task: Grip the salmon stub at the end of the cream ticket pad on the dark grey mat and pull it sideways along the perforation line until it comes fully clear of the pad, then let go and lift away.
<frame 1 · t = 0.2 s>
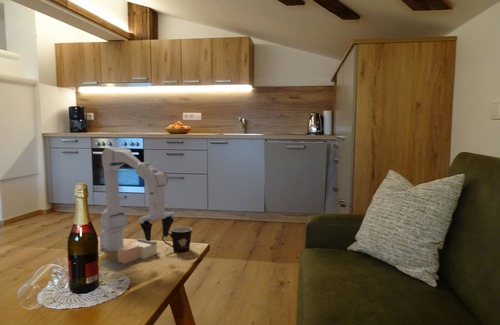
hand: (156, 238, 136), 10 cm above the table, tool pointing down, fingers open, 7 cm apart
coffee mug: (177, 252, 150), on the table
ticket pad: (143, 254, 143), resting on mat
mat: (130, 261, 138), on the table
stub: (128, 253, 137), point 3 cm above the table, slide at 0.0 cm
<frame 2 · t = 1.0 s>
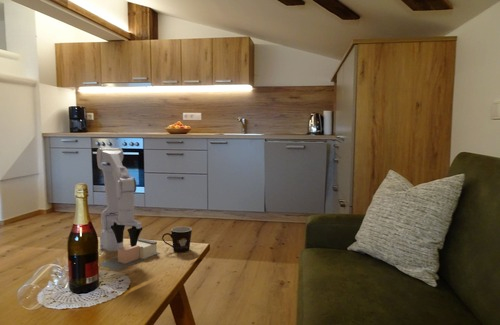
hand: (126, 244, 135), 7 cm above the table, tool pointing down, fingers open, 7 cm apart
nothing on the table moved.
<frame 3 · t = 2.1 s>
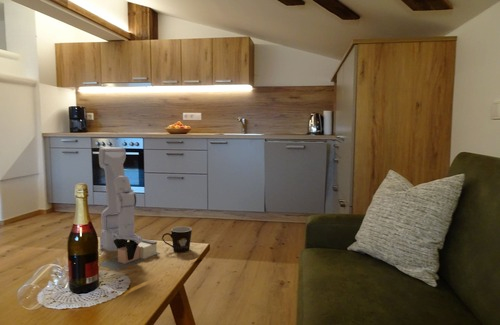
hand: (126, 258, 136), 2 cm above the table, tool pointing down, fingers closed on stub, 4 cm apart
stub: (128, 253, 137), point 3 cm above the table, slide at 0.0 cm, touching gripper
everything else where it was.
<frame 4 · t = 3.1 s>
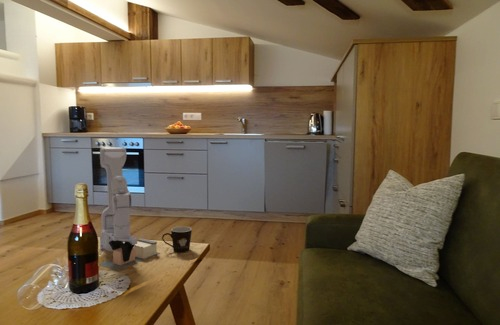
hand: (122, 259, 134), 2 cm above the table, tool pointing down, fingers closed on stub, 4 cm apart
stub: (124, 255, 135), point 3 cm above the table, slide at 2.1 cm, touching gripper
everything else where it was.
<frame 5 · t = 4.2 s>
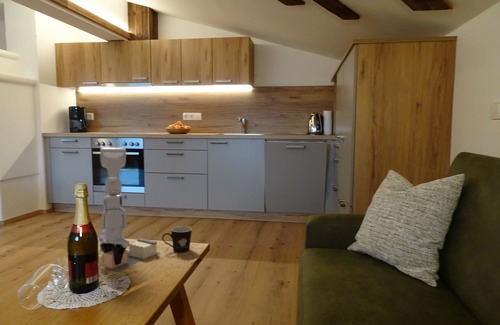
hand: (113, 262, 131), 2 cm above the table, tool pointing down, fingers closed on stub, 4 cm apart
stub: (116, 258, 132), point 3 cm above the table, slide at 5.9 cm, touching gripper
everything else where it was.
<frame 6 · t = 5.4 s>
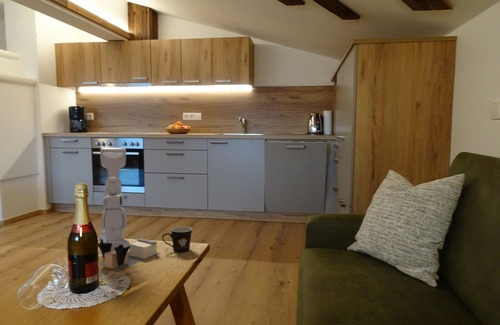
hand: (113, 262, 131), 2 cm above the table, tool pointing down, fingers open, 7 cm apart
stub: (116, 258, 132), point 3 cm above the table, slide at 5.9 cm
everything else where it was.
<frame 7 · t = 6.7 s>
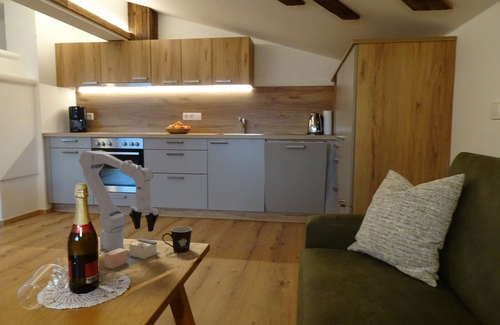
hand: (144, 230, 145), 10 cm above the table, tool pointing down, fingers open, 7 cm apart
nothing on the table moved.
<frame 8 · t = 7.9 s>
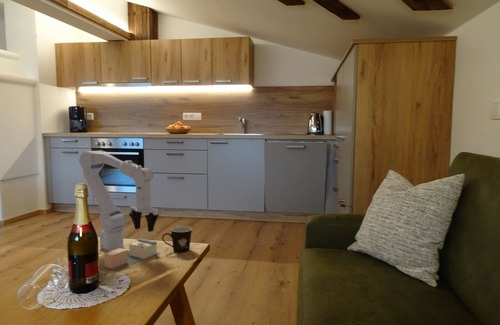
hand: (144, 230, 145), 10 cm above the table, tool pointing down, fingers open, 7 cm apart
nothing on the table moved.
at the end: stub slide at 5.9 cm; the gripper is holding nothing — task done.
